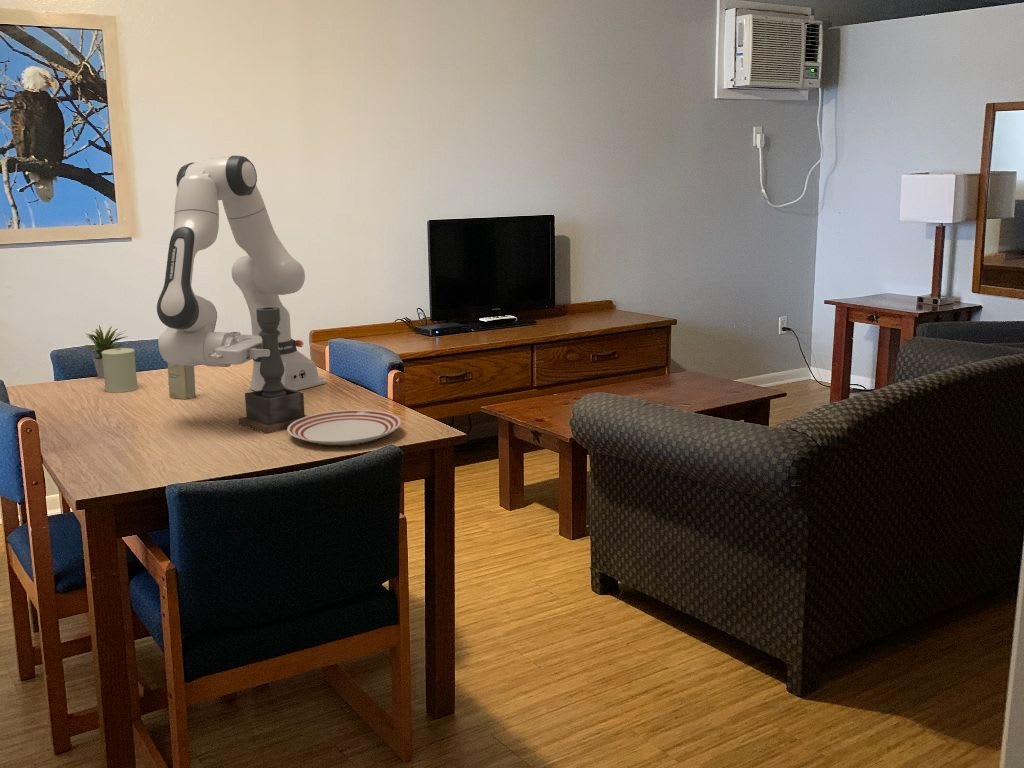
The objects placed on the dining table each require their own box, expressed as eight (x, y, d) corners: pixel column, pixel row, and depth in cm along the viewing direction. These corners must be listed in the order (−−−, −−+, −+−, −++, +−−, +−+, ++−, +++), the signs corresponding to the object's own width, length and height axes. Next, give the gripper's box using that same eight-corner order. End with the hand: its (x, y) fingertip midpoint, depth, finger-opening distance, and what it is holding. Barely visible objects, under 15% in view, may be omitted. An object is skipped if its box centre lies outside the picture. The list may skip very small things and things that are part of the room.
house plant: (120, 382, 308) (115, 329, 304) (75, 382, 308) (69, 329, 304) (137, 372, 322) (133, 321, 318) (94, 372, 322) (89, 322, 318)
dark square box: (286, 414, 267) (284, 384, 265) (313, 422, 258) (311, 392, 256) (238, 423, 258) (236, 393, 256) (265, 433, 249) (263, 401, 247)
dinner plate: (354, 458, 228) (354, 443, 228) (263, 442, 241) (262, 429, 241) (423, 429, 252) (422, 417, 251) (336, 417, 265) (336, 404, 264)
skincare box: (169, 398, 287) (165, 356, 284) (179, 394, 291) (176, 353, 288) (186, 399, 284) (183, 357, 282) (197, 396, 288) (194, 354, 286)
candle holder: (292, 404, 258) (285, 307, 252) (275, 409, 253) (268, 311, 247) (274, 402, 261) (267, 306, 256) (256, 407, 256) (249, 309, 250)
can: (138, 384, 304) (134, 345, 301) (138, 391, 296) (134, 350, 293) (105, 387, 301) (101, 347, 298) (104, 393, 292) (100, 353, 290)
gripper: (203, 344, 245) (257, 345, 243) (237, 330, 264) (287, 332, 263) (205, 369, 246) (259, 371, 244) (238, 354, 266) (289, 355, 264)
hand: (274, 350), depth 254 cm, fingers closed on candle holder, 4 cm apart
